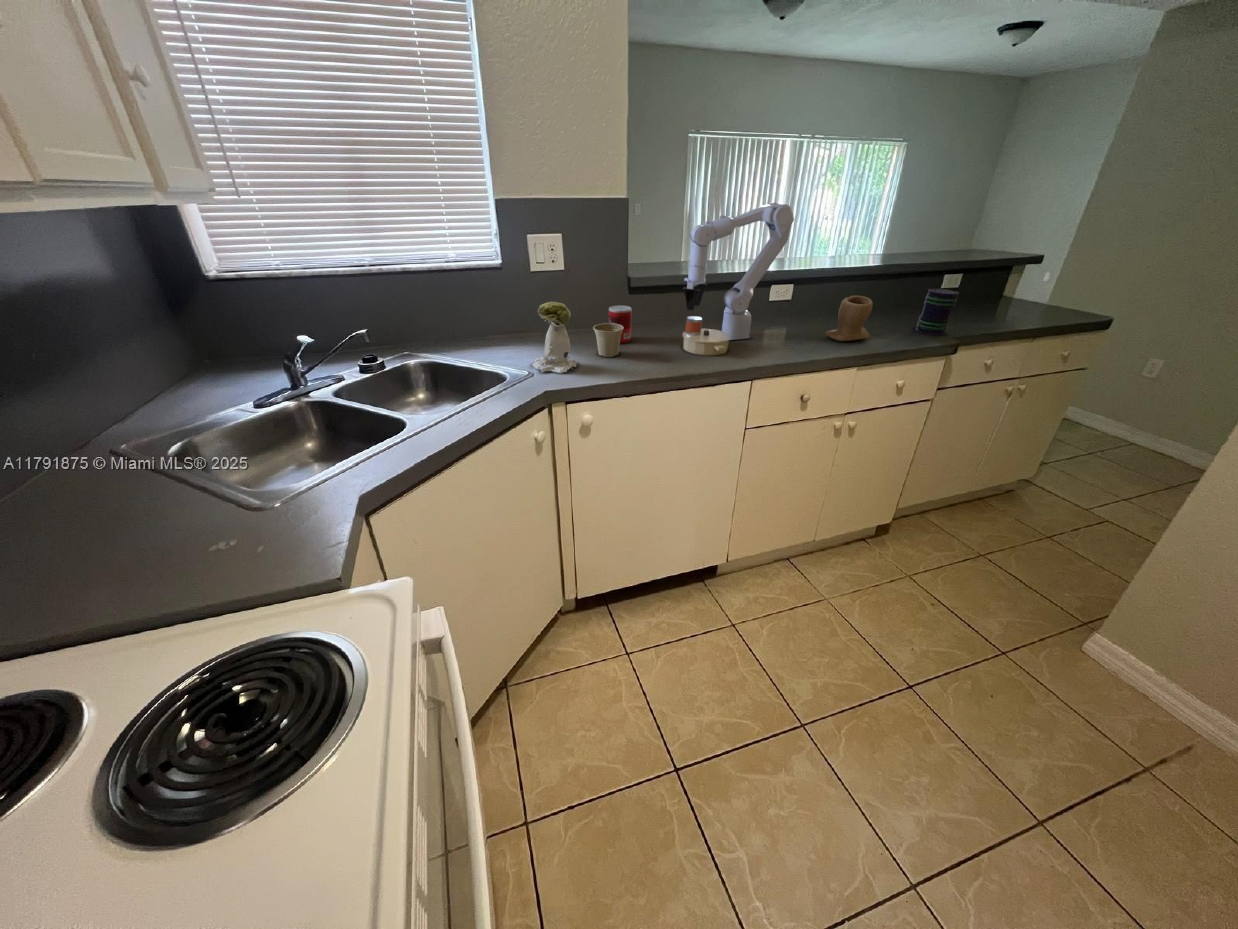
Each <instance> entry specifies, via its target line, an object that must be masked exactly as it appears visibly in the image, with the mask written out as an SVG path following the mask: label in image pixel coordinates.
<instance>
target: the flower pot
mask: <svg viewBox="0 0 1238 929" xmlns="http://www.w3.org/2000/svg"><path fill="white" fill-rule="evenodd" d="M592 329H593V331H594V334H595V338H596V344H597V351H598V355H599V356H602V357H604V358H614V357H615V356H618V355H619V350H620V337H621V334H622V330H623V329H624V327H623V326H621V325H619V324H612V323H609V322H607V323H606V322H604V323H597V324H595V325H594V326H593V327H592Z"/></svg>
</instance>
